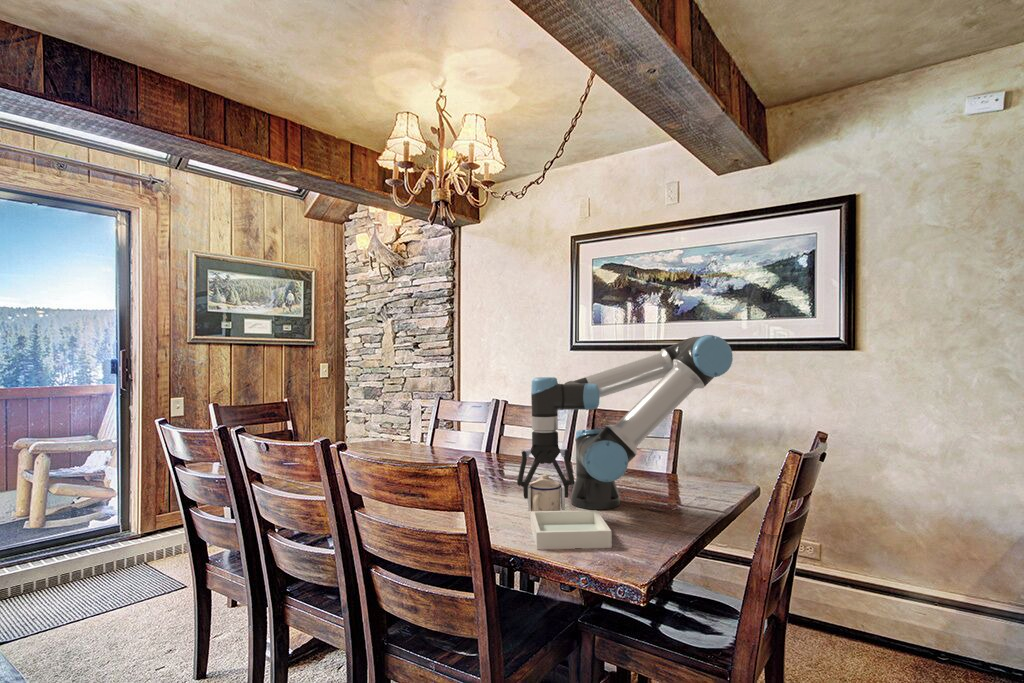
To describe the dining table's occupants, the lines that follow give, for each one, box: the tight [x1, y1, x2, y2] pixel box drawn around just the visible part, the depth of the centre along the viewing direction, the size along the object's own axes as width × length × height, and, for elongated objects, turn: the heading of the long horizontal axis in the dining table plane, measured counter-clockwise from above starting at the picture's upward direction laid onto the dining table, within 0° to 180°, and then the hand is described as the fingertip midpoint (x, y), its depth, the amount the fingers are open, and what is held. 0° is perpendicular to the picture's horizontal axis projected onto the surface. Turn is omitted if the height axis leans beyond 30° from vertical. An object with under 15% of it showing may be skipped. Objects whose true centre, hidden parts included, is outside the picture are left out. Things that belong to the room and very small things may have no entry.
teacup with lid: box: [529, 473, 562, 512], centre depth 157 cm, size 12×9×12 cm
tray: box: [530, 509, 613, 550], centre depth 139 cm, size 18×18×4 cm
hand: (546, 509), depth 157 cm, fingers closed on teacup with lid, 9 cm apart
